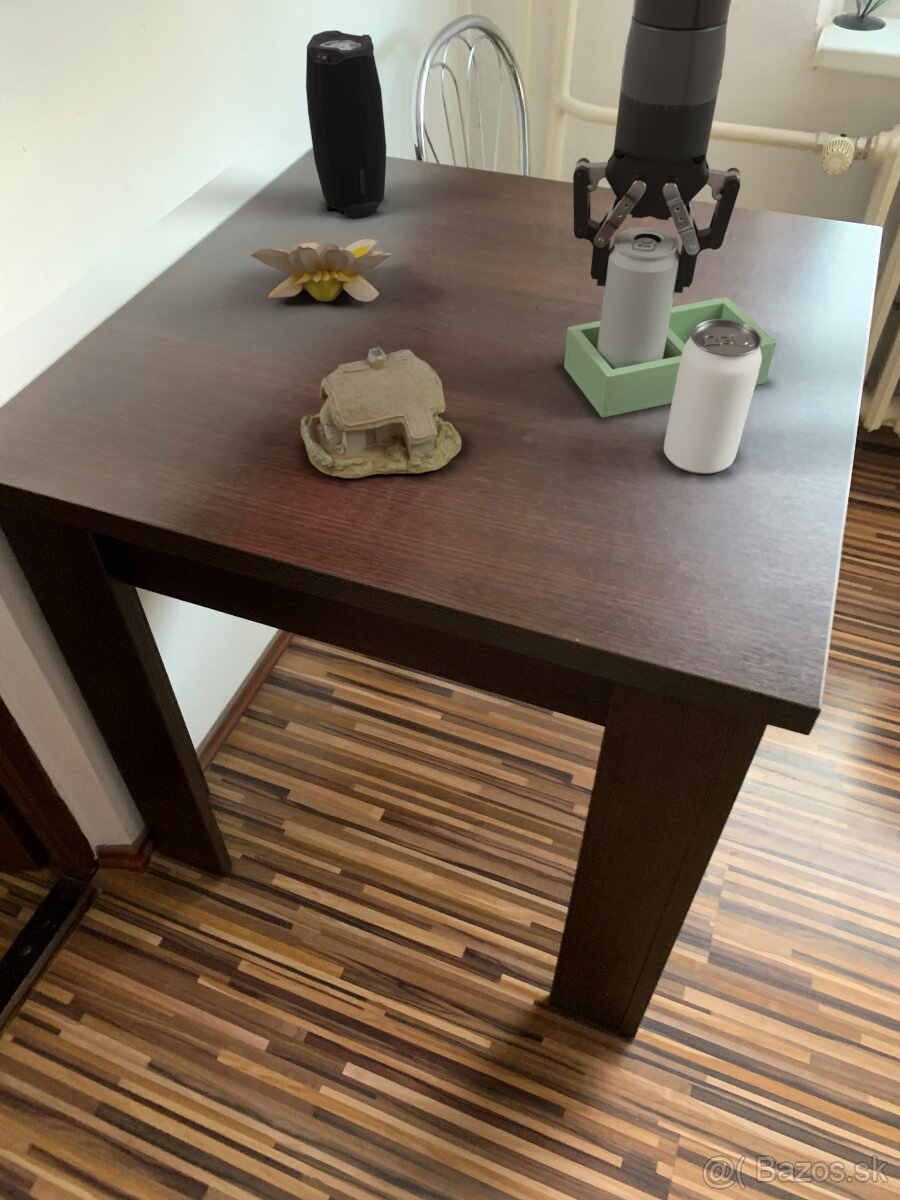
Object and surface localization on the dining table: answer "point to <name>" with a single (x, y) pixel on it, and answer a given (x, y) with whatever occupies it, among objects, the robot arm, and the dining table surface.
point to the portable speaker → (346, 121)
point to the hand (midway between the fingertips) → (640, 285)
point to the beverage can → (638, 296)
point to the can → (712, 395)
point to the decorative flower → (325, 269)
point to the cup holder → (650, 379)
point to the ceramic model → (380, 419)
